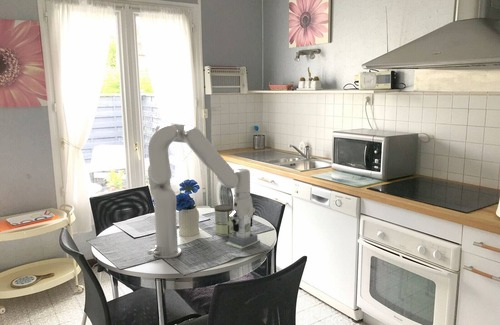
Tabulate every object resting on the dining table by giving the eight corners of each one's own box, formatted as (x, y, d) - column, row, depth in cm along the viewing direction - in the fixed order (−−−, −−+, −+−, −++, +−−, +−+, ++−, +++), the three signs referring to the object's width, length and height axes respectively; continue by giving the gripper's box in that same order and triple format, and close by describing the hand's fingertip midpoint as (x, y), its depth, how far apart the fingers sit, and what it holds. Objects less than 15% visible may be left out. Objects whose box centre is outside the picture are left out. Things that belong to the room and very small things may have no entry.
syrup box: (240, 238, 207) (240, 210, 205) (251, 240, 204) (250, 212, 202) (234, 242, 202) (234, 213, 200) (245, 244, 199) (244, 215, 197)
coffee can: (216, 229, 223) (216, 204, 221) (235, 229, 222) (235, 204, 220) (213, 235, 213) (212, 209, 211) (233, 236, 212) (232, 209, 210)
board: (240, 249, 195) (240, 247, 195) (225, 244, 202) (225, 242, 202) (260, 240, 205) (260, 239, 205) (245, 236, 212) (245, 235, 212)
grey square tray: (243, 246, 196) (243, 240, 196) (228, 241, 203) (228, 235, 203) (257, 240, 204) (257, 235, 203) (242, 236, 210) (242, 230, 210)
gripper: (235, 199, 190) (236, 235, 193) (260, 192, 203) (260, 225, 206) (224, 196, 195) (224, 231, 198) (248, 190, 208) (249, 222, 211)
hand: (242, 228), depth 202 cm, fingers open, 9 cm apart
